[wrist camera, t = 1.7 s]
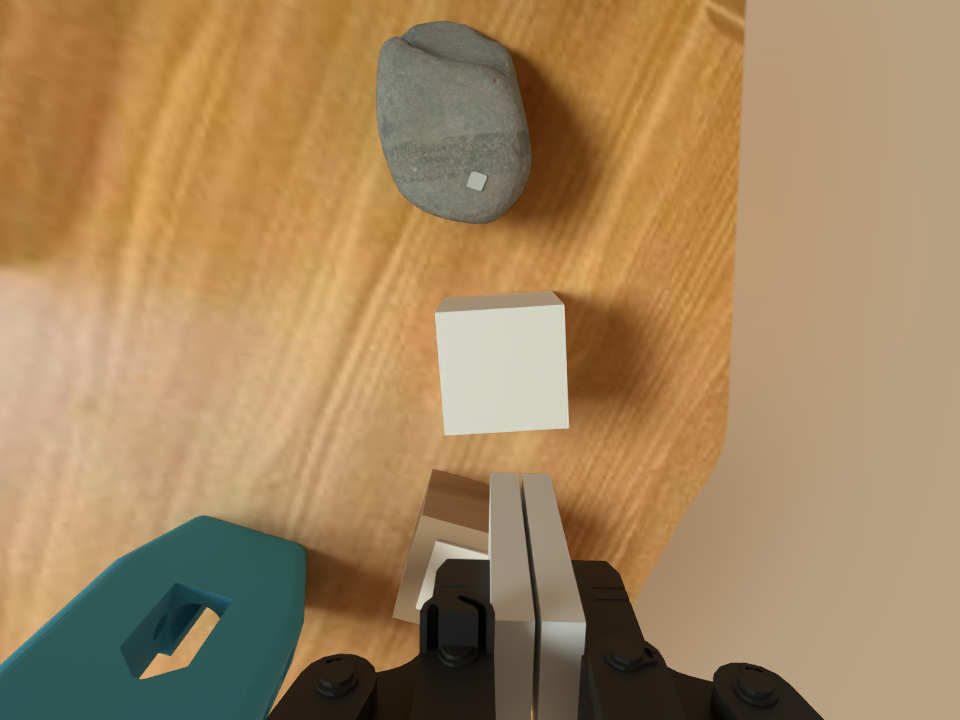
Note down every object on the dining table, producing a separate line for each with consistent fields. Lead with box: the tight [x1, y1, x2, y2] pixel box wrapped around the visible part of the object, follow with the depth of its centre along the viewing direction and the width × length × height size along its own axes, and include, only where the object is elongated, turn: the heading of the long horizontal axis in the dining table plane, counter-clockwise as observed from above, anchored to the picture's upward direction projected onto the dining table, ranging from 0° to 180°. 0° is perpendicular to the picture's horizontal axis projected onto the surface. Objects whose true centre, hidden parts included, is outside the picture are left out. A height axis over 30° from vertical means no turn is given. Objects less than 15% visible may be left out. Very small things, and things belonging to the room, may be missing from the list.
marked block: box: [392, 469, 521, 625], centre depth 40 cm, size 7×7×7 cm
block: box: [0, 516, 307, 720], centre depth 35 cm, size 12×5×20 cm, turn 72°
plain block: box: [435, 291, 569, 435], centre depth 38 cm, size 7×7×7 cm
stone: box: [376, 21, 532, 224], centre depth 36 cm, size 9×9×10 cm
